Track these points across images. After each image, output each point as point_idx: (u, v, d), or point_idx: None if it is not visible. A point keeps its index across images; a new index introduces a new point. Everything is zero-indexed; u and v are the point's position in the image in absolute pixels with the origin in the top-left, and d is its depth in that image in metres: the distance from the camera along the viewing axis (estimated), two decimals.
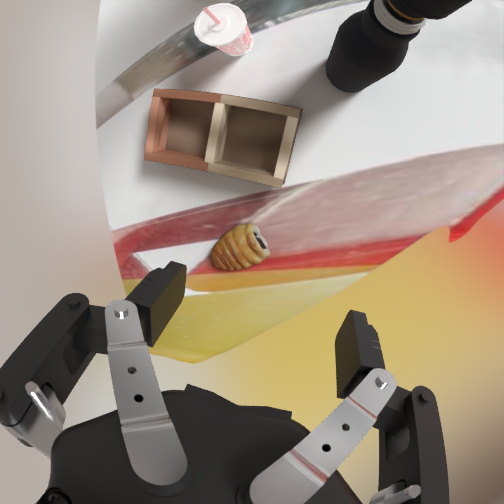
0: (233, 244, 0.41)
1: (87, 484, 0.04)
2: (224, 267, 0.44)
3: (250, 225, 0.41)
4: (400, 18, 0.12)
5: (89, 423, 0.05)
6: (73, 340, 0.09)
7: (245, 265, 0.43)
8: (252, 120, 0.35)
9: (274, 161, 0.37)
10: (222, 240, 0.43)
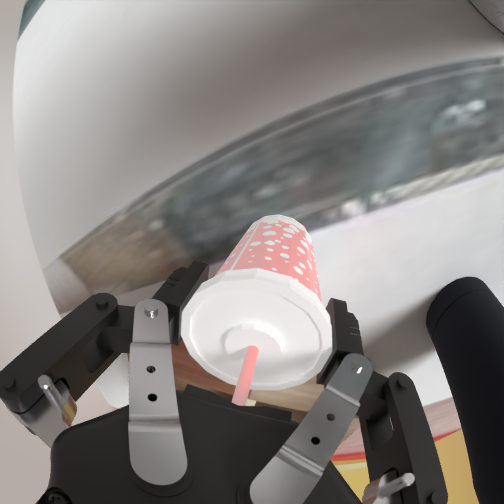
0: None
1: (81, 483, 0.03)
2: None
3: None
4: None
5: (89, 423, 0.05)
6: (97, 339, 0.09)
7: None
8: None
9: None
10: None
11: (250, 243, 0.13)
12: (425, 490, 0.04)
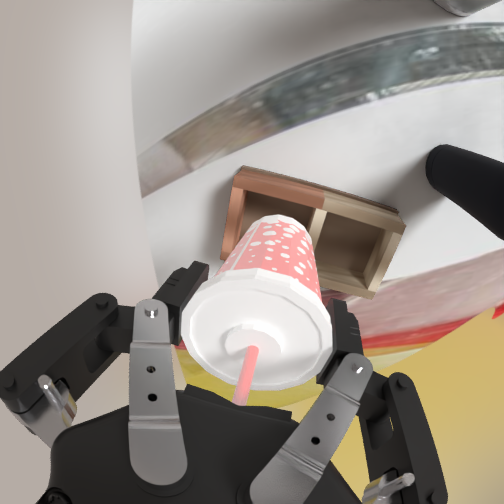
0: None
1: (81, 483, 0.03)
2: None
3: None
4: None
5: (89, 423, 0.05)
6: (97, 339, 0.09)
7: None
8: (345, 219, 0.33)
9: (362, 263, 0.35)
10: None
11: (250, 243, 0.13)
12: (425, 490, 0.04)
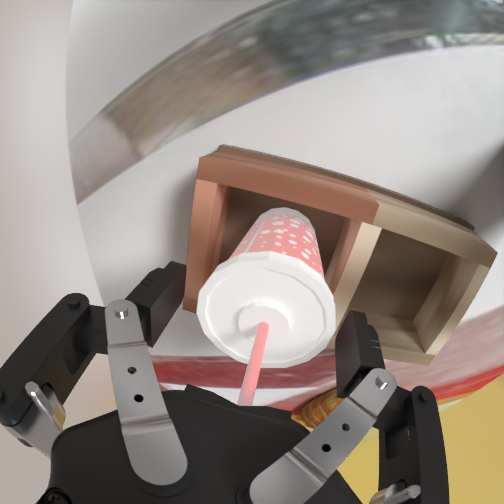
0: None
1: (87, 484, 0.04)
2: None
3: None
4: None
5: (90, 423, 0.05)
6: (73, 340, 0.09)
7: None
8: (398, 240, 0.18)
9: (415, 308, 0.20)
10: (321, 408, 0.26)
11: (260, 231, 0.14)
12: None
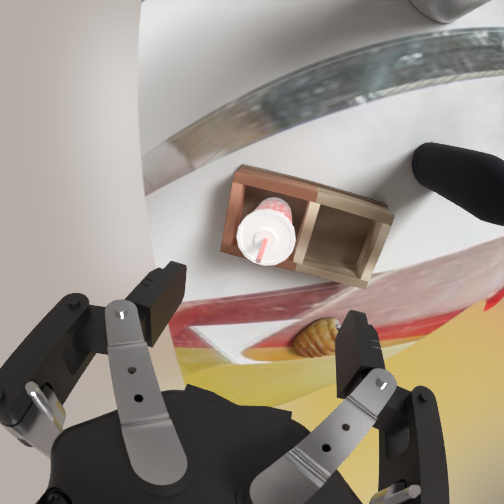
0: (318, 340, 0.42)
1: (87, 484, 0.04)
2: (307, 356, 0.45)
3: (332, 321, 0.42)
4: None
5: (89, 423, 0.05)
6: (73, 340, 0.09)
7: (328, 354, 0.43)
8: (338, 214, 0.35)
9: (355, 256, 0.37)
10: (305, 336, 0.43)
11: (263, 205, 0.32)
12: None
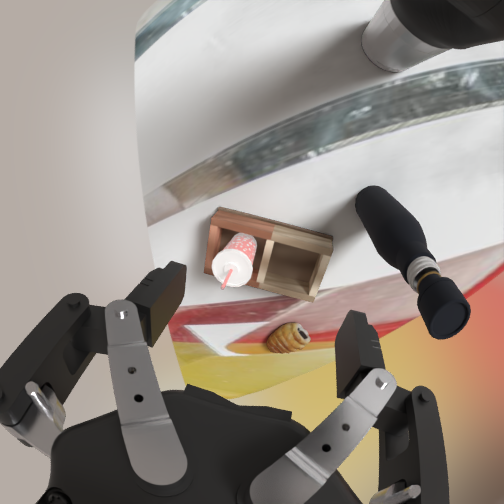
0: (284, 340, 0.54)
1: (87, 484, 0.04)
2: (277, 352, 0.57)
3: (294, 325, 0.54)
4: None
5: (89, 423, 0.05)
6: (73, 340, 0.09)
7: (293, 351, 0.55)
8: None
9: (308, 276, 0.49)
10: (274, 336, 0.56)
11: (232, 242, 0.44)
12: None
